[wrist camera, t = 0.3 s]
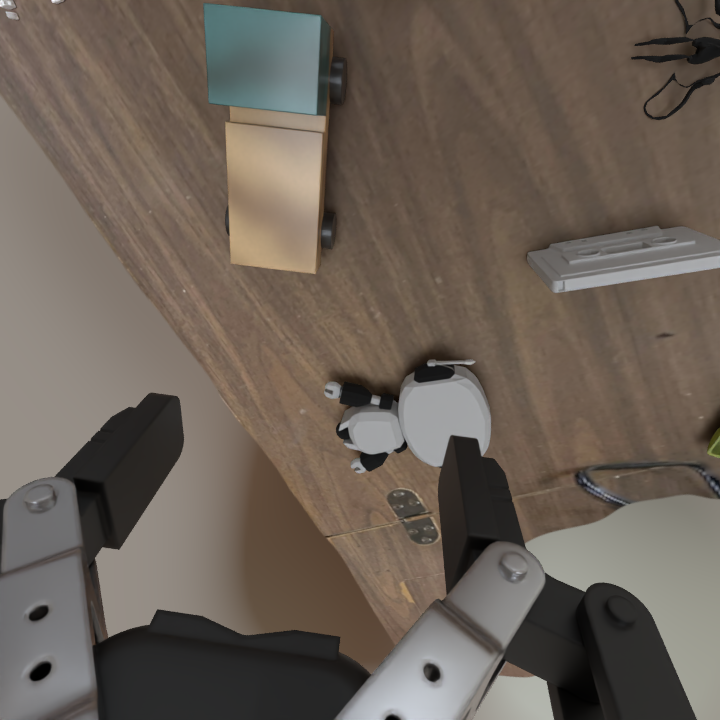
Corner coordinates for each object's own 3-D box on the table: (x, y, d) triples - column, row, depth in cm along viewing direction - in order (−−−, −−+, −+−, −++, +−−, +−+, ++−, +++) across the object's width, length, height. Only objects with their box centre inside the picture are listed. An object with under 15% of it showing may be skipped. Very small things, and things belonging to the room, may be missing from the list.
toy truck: (230, 24, 32) (188, 1, 26) (349, 36, 32) (336, 16, 25) (237, 248, 40) (206, 273, 33) (333, 260, 39) (320, 287, 33)
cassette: (526, 268, 38) (552, 300, 31) (525, 246, 37) (552, 274, 31) (682, 242, 36) (745, 271, 29) (685, 218, 35) (751, 242, 29)
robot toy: (357, 458, 51) (495, 443, 47) (350, 488, 47) (500, 474, 43) (324, 364, 45) (477, 338, 41) (313, 389, 41) (481, 363, 37)
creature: (611, 118, 34) (736, 122, 32) (625, 118, 29) (772, 122, 27) (645, -17, 30) (790, -22, 28) (668, -41, 25) (842, -50, 23)
